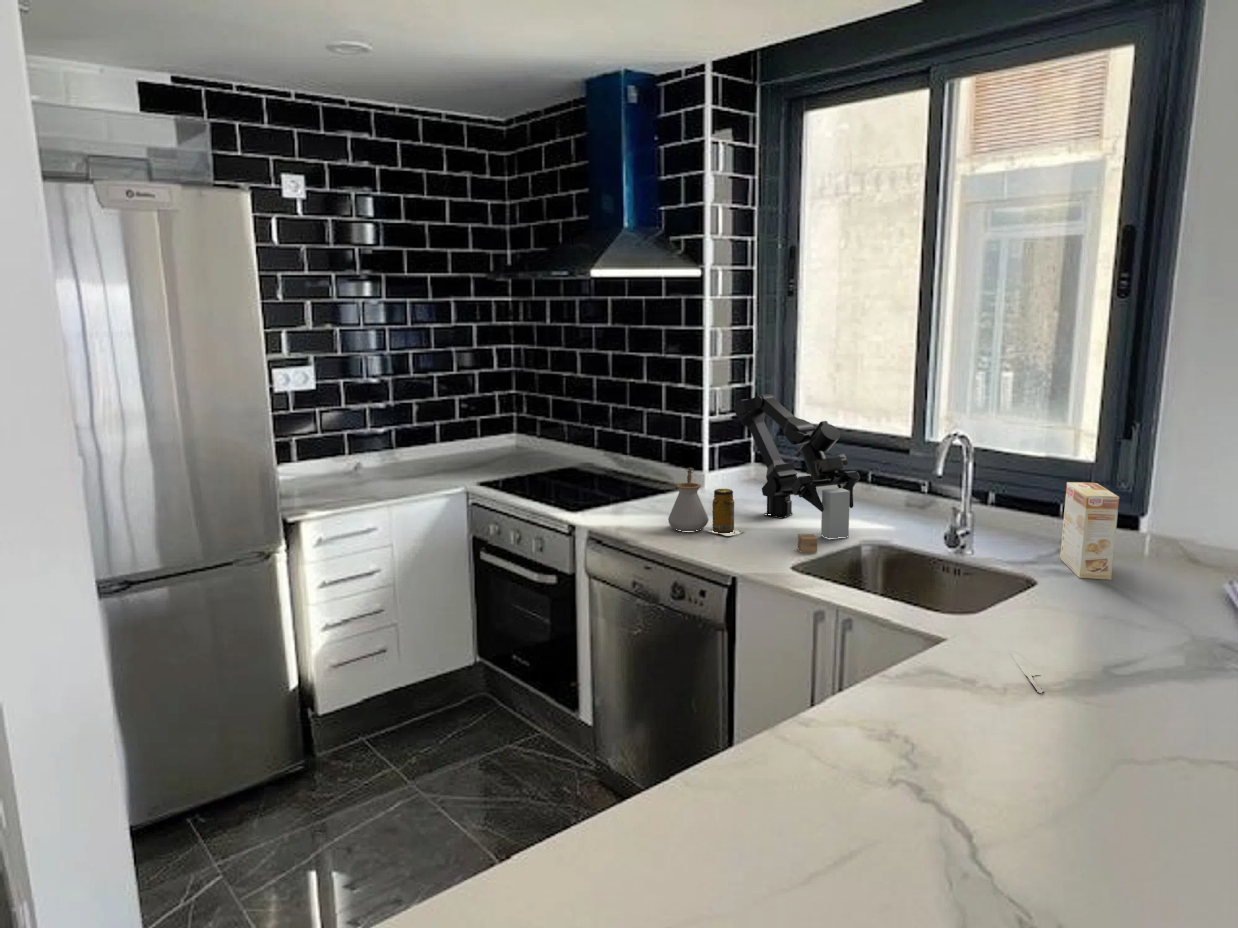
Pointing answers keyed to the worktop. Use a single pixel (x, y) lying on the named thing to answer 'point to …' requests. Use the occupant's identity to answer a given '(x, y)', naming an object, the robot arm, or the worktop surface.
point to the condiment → (723, 511)
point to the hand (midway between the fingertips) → (837, 509)
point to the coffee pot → (688, 508)
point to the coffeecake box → (1089, 530)
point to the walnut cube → (807, 543)
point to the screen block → (835, 513)
